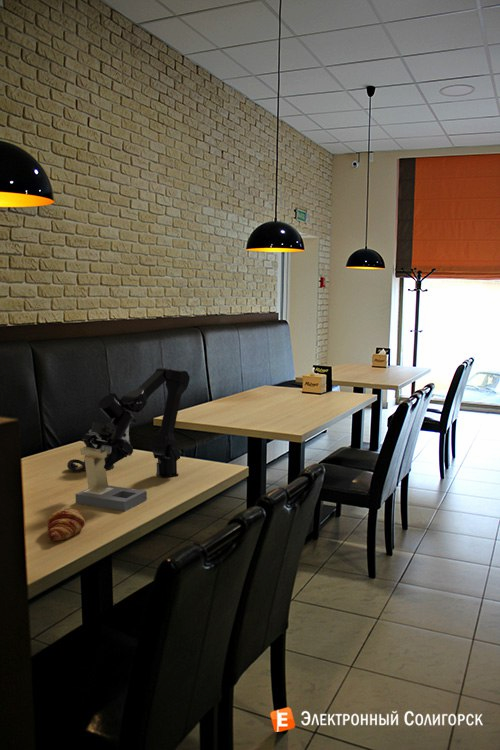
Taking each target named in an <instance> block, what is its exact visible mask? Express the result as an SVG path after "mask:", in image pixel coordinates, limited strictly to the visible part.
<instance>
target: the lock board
mask: <svg viewBox="0 0 500 750" xmlns="http://www.w3.org/2000/svg"><path fill="white" fill-rule="evenodd" d="M147 492H148V491H146V490H141V489H135V488H128V487H121V486H115V485H109V484H108V488H106V489H104V490H102V491H100V492H94V491H90V490H89V488H86V489H84V490H82V491H79V492H77V493H75V504H79V505H85V506H90V507H97V508H102V509H108V510H115V511H120V512H127V511H128V510H130V509H132V508H134V507H136V506H137V505H140V504H142V503H143V502H145V501H147V500H148V497H147Z"/></svg>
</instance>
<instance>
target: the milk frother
mask: <svg viewBox="0 0 500 750" xmlns="http://www.w3.org/2000/svg"><path fill="white" fill-rule="evenodd" d="M88 434H94V435H96V436H97V437H98V438H99V439H100V440H101V439H102V438H101V437H99V436H98V433H95V432H91V429H89V430H88ZM99 450H105V451H107V457H106V458H104V459H105V463H106V461H107V459H108V457H109V455H110V454H111V447H105V446H102V447H101V448H100V449H99ZM78 464H79V465H81V466H82V467H80V468H78V467H79V465H78ZM66 467H67V469H68V470H69V471H72V472H83V471H86V467H85V464H84V460H80V459H76V458H75V459H70V460H69V461H68V462H67V465H66ZM114 468H115V466H114V464H113V465H112V466H110V467H109V468H107V469H106V471H109V470H113V469H114Z"/></svg>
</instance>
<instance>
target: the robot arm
mask: <svg viewBox="0 0 500 750" xmlns="http://www.w3.org/2000/svg"><path fill="white" fill-rule="evenodd" d="M190 380H191V379H190V375H189V373H188V371H186V370H177V369H170V368H169V367H168V368H167V367H158V368H156V369H155V372H154V373H153V374H151V375H150V376H148V378H147V379H146V380H144V382H143V383H142V384H141V385H139V387H137V388H136V389H133V390H131V391H128V392H127V393H125V394H124V395H122V396H121V398H119V397H118V395H117V394H116V393H115V392H109V393H108V395H106V396H103V398H102V399H100V400H99V402H98V408H99V409H100V410H101V411H102V412H103V413H104V414H105V415H106V416H107V417H108V418H109V419H111V421H110V422H109V421H107V422H106V423H100V422H95V421H94V422H93V423H92V427H91V429H90V430H91V432H95V433H98V436H99V437H101V438H102V439H101V440H100V439H99V438H98V437H97V436H96V435H94V434H89V433H85V434H84V435H83V437H82V439H81V440H82V441H83V443H84V444H85V447H89V448H94V449H100V448H101V447H102V446H105V447H111V454H110V455H109V457H108V459H107V461H106V463H105V465H104V468H105V469H107V468H109V467H110V466H112V465H114V464H116V463H118V462H120V461H121V460H123V459H124V458H127V457H131V456H132V454H133V452H134V447H133V446H132V445H131V443H130V442H129V443H130V444H129V443H128V441H127V440H123V439H121V438H122V437H126V434H125V431H126V430H127V428H128V426H129V427H130V424H137V419H136V415H134V414H132V413H141V412H142V411H143V410H144V408H145V407H146V405H147V403H148V399H149V398H150V397H151V395H153V394H154V393H155V392H156V391H157V390H158V389H159V388H160V387H161V386H162V385H163V384H164V383H165V386H166V387H165V388H166V391H167V395H166V400H165V407H164V411H163V416H162V420H161V426H160V430H159V431H158V432H157V434H156V433H154V434H153V435H152V440H151V443H150V445H151V446H150V447H151V451H152V454H153V457H154V459H157V462H156V475H158V476H159V477H160V478H162V479H164V478H171V477H178V476H179V473H178V467H177V465H178V463H177V462H178V460H180V459H181V455H182V453H181V452H180V450H179V449H178V448H177V447H176V446H177V445H176V444H177V440H176V437H175V434H174V432H175V428H176V424H177V419H178V413H179V408H180V403H181V399H182V395H183V394H184V393H185V392H186V390H187V389H188V386H189V382H190ZM131 412H132V413H131ZM85 456H86V455H84V457H85ZM83 462H84V464H85V460H84V459H83Z"/></svg>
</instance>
